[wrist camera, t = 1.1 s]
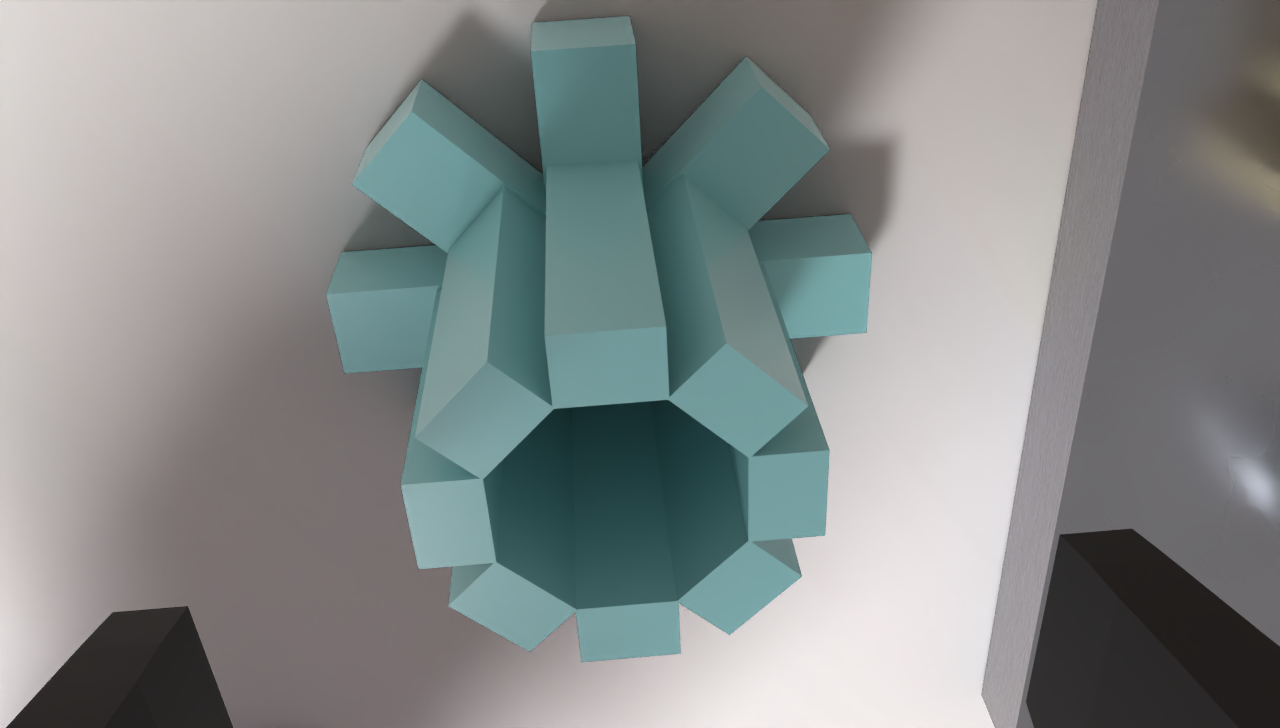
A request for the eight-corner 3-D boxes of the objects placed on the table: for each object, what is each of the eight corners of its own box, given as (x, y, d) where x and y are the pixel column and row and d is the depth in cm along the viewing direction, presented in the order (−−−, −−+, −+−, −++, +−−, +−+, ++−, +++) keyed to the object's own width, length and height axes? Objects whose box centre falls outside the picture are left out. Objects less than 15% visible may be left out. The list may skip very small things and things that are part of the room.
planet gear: (837, 452, 17) (932, 715, 13) (392, 487, 17) (337, 767, 13) (862, -1, 14) (1008, 156, 9) (295, 39, 14) (170, 218, 9)
